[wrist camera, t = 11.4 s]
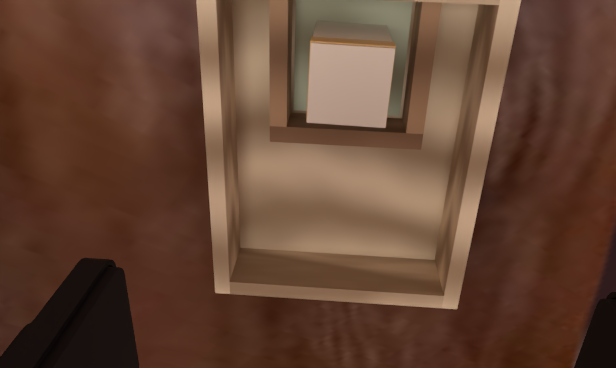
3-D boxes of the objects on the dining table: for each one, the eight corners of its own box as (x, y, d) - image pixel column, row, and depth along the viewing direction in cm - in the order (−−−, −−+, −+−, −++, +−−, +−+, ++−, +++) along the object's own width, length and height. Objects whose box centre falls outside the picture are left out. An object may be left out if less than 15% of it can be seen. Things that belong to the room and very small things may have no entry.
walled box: (444, 264, 39) (457, 309, 34) (230, 250, 39) (215, 293, 35) (497, -27, 29) (524, -17, 25) (216, -37, 30) (194, -29, 26)
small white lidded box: (379, 93, 32) (386, 129, 26) (312, 89, 32) (305, 123, 27) (387, 24, 30) (396, 47, 25) (316, 20, 30) (309, 42, 25)
